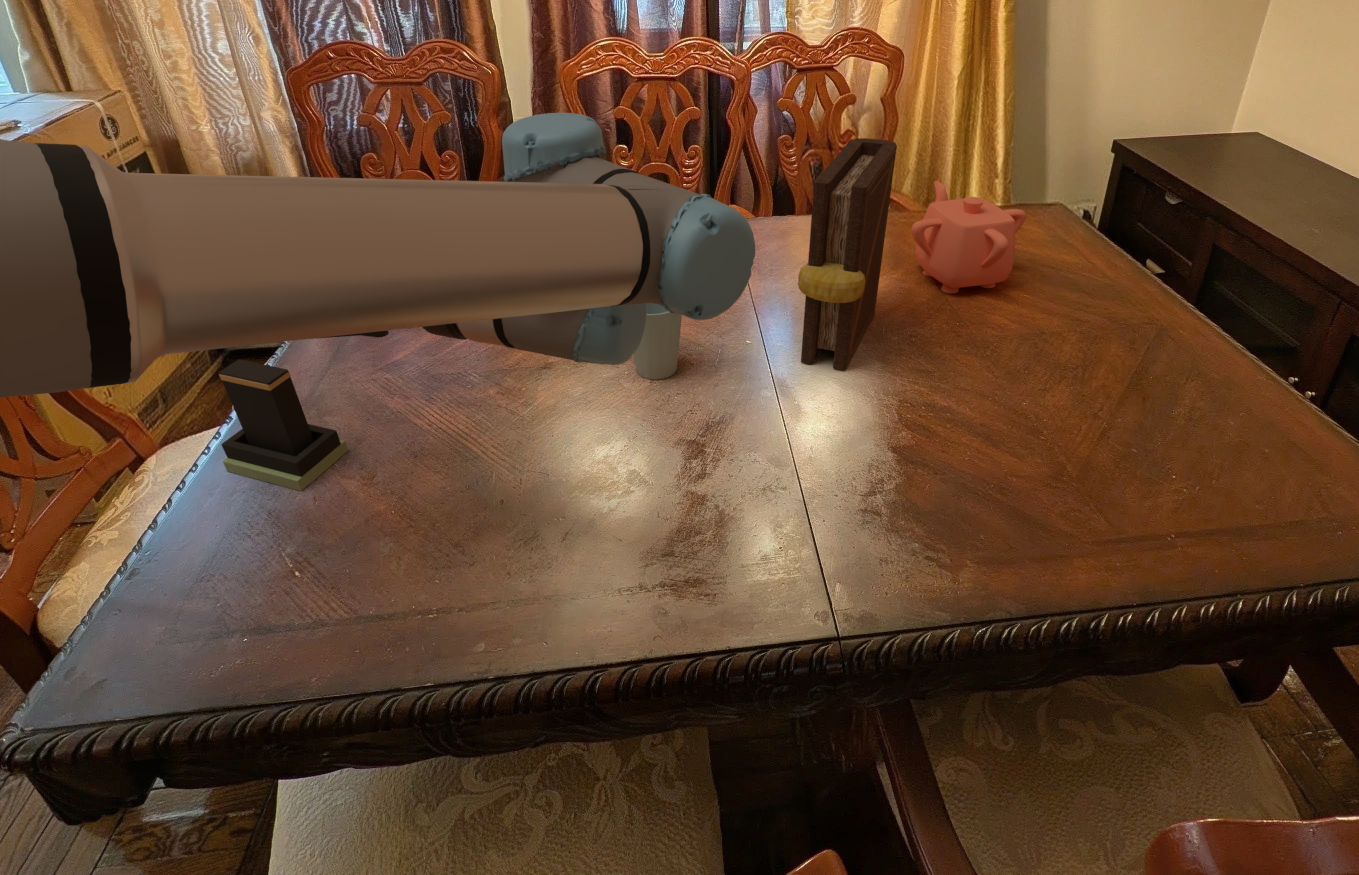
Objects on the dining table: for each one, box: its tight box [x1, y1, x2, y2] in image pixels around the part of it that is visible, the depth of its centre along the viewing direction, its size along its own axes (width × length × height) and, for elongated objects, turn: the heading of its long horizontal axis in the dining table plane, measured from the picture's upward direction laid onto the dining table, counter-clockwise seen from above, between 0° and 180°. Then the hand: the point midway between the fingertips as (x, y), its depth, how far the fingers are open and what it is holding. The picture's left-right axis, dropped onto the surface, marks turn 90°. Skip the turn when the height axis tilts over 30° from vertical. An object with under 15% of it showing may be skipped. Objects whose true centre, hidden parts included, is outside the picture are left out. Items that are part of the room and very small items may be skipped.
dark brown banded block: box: [218, 358, 314, 457], centre depth 91 cm, size 7×3×11 cm, turn 69°
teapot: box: [911, 180, 1027, 294], centre depth 126 cm, size 17×16×13 cm
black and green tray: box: [221, 423, 349, 492], centre depth 94 cm, size 11×8×4 cm
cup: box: [633, 303, 683, 381], centre depth 106 cm, size 8×8×10 cm
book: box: [797, 137, 898, 372], centre depth 108 cm, size 22×8×25 cm, turn 156°
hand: (283, 267), depth 77 cm, fingers open, 13 cm apart
